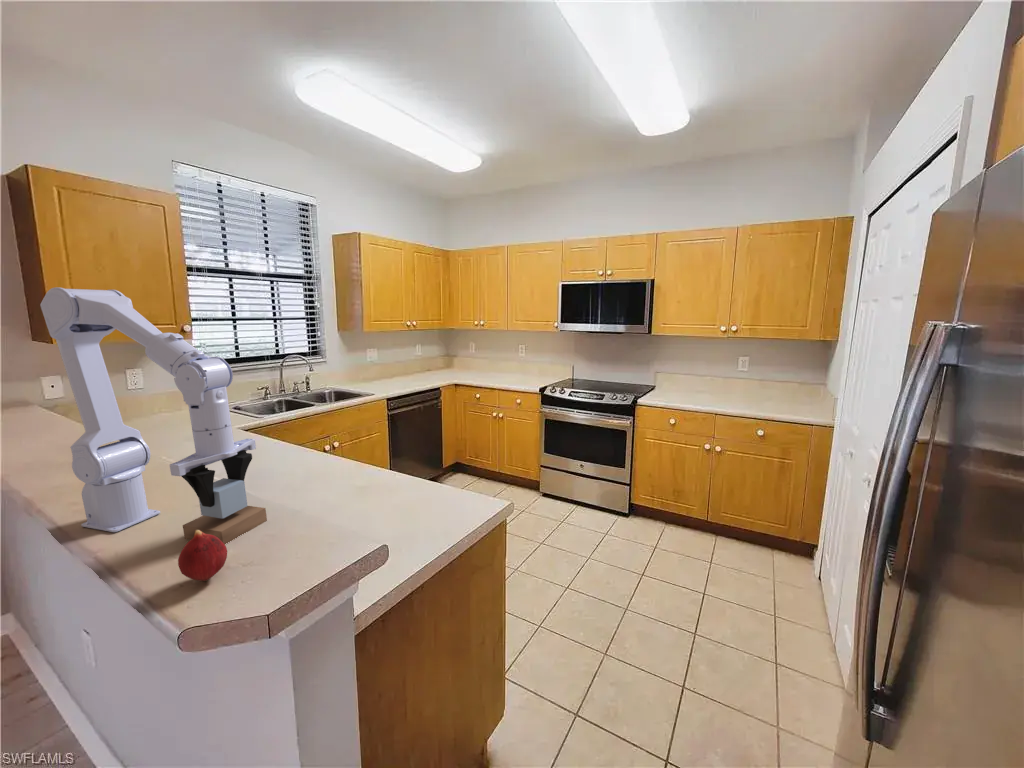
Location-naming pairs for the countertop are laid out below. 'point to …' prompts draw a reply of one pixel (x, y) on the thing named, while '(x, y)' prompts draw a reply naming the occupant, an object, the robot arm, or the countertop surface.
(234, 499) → the cube
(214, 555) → the onion
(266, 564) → the countertop surface
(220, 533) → the base
